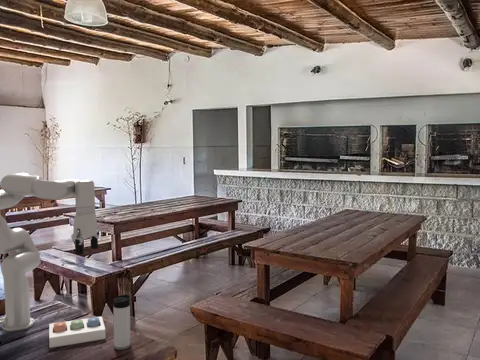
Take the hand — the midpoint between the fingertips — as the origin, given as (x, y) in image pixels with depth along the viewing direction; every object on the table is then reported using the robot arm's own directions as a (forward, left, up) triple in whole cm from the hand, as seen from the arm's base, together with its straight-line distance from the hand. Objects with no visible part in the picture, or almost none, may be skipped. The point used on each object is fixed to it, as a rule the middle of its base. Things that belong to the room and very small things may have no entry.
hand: (87, 251), depth 181 cm
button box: (-5, -1, -35) cm, 35 cm away
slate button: (+2, -1, -33) cm, 33 cm away
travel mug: (+11, -17, -35) cm, 41 cm away
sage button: (-5, -1, -33) cm, 33 cm away
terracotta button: (-11, -1, -33) cm, 35 cm away
